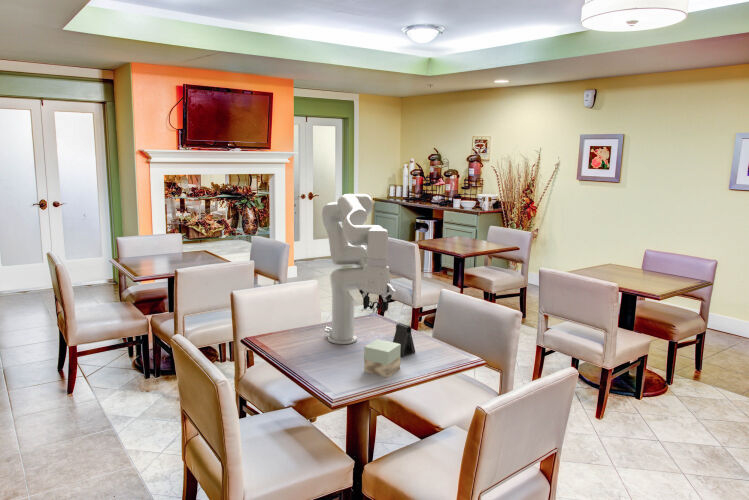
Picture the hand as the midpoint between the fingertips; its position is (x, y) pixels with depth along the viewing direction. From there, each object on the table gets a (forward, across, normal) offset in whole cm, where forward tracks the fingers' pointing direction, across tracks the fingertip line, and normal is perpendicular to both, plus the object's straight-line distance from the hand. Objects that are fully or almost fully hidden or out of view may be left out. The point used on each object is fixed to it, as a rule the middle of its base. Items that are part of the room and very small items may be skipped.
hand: (375, 309), depth 200 cm
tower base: (+24, +3, +2) cm, 24 cm away
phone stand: (+24, +1, +22) cm, 33 cm away
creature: (+1, -1, -1) cm, 2 cm away
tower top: (+19, +3, +2) cm, 19 cm away
